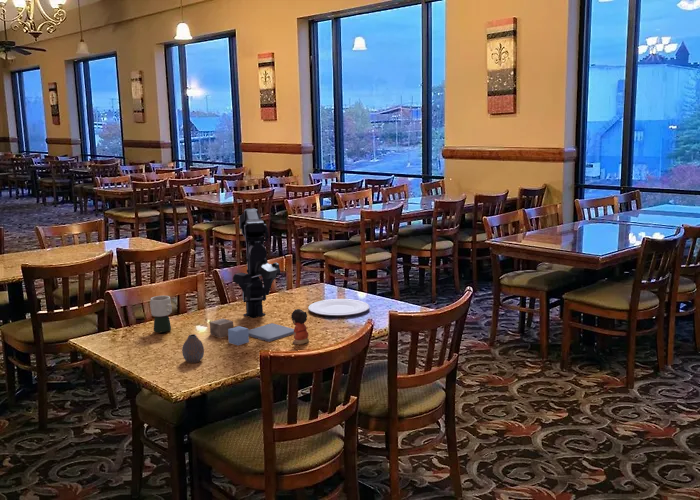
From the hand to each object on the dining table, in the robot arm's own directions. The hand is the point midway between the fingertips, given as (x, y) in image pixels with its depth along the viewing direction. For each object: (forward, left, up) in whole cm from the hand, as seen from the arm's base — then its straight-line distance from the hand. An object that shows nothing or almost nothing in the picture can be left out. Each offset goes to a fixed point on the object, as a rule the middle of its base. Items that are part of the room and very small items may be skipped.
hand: (258, 297), depth 259 cm
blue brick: (+4, -13, -13) cm, 19 cm away
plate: (+3, +40, -14) cm, 43 cm away
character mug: (-28, -23, -13) cm, 39 cm away
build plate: (+5, +1, -13) cm, 14 cm away
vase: (+8, -35, -13) cm, 38 cm away
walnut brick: (-8, -11, -13) cm, 19 cm away
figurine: (+21, +1, -13) cm, 25 cm away
